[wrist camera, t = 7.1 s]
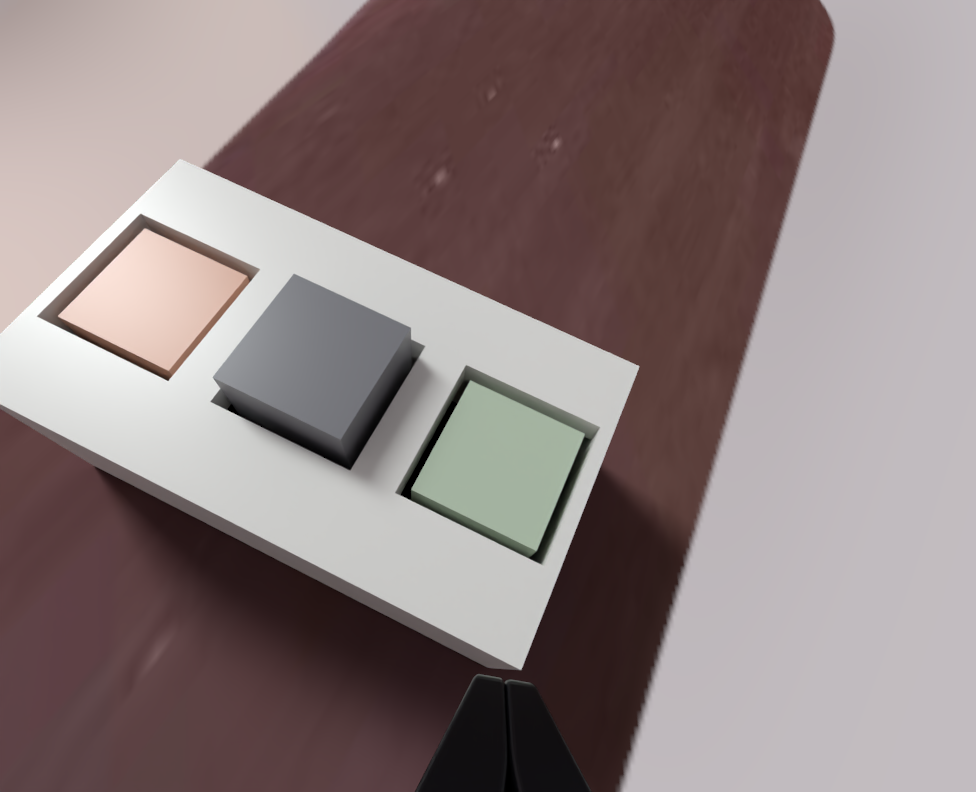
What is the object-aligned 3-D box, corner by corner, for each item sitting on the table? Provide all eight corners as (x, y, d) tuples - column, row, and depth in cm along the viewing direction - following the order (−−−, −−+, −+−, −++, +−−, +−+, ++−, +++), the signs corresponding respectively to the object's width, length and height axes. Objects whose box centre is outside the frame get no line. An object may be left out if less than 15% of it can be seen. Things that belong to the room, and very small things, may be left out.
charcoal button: (351, 469, 16) (340, 439, 14) (239, 415, 16) (212, 376, 14) (411, 369, 18) (410, 327, 15) (308, 320, 18) (294, 273, 16)
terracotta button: (198, 406, 18) (168, 370, 16) (100, 357, 18) (57, 316, 16) (266, 319, 19) (247, 276, 17) (174, 275, 20) (144, 228, 17)
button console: (487, 667, 20) (521, 670, 13) (92, 465, 21) (-48, 379, 15) (579, 446, 23) (639, 366, 17) (240, 287, 25) (180, 158, 18)
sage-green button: (521, 565, 17) (536, 551, 15) (411, 511, 17) (410, 489, 15) (565, 461, 18) (585, 433, 16) (464, 412, 19) (470, 380, 16)
